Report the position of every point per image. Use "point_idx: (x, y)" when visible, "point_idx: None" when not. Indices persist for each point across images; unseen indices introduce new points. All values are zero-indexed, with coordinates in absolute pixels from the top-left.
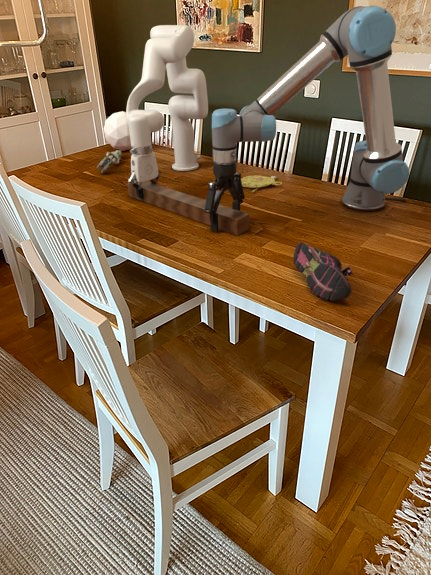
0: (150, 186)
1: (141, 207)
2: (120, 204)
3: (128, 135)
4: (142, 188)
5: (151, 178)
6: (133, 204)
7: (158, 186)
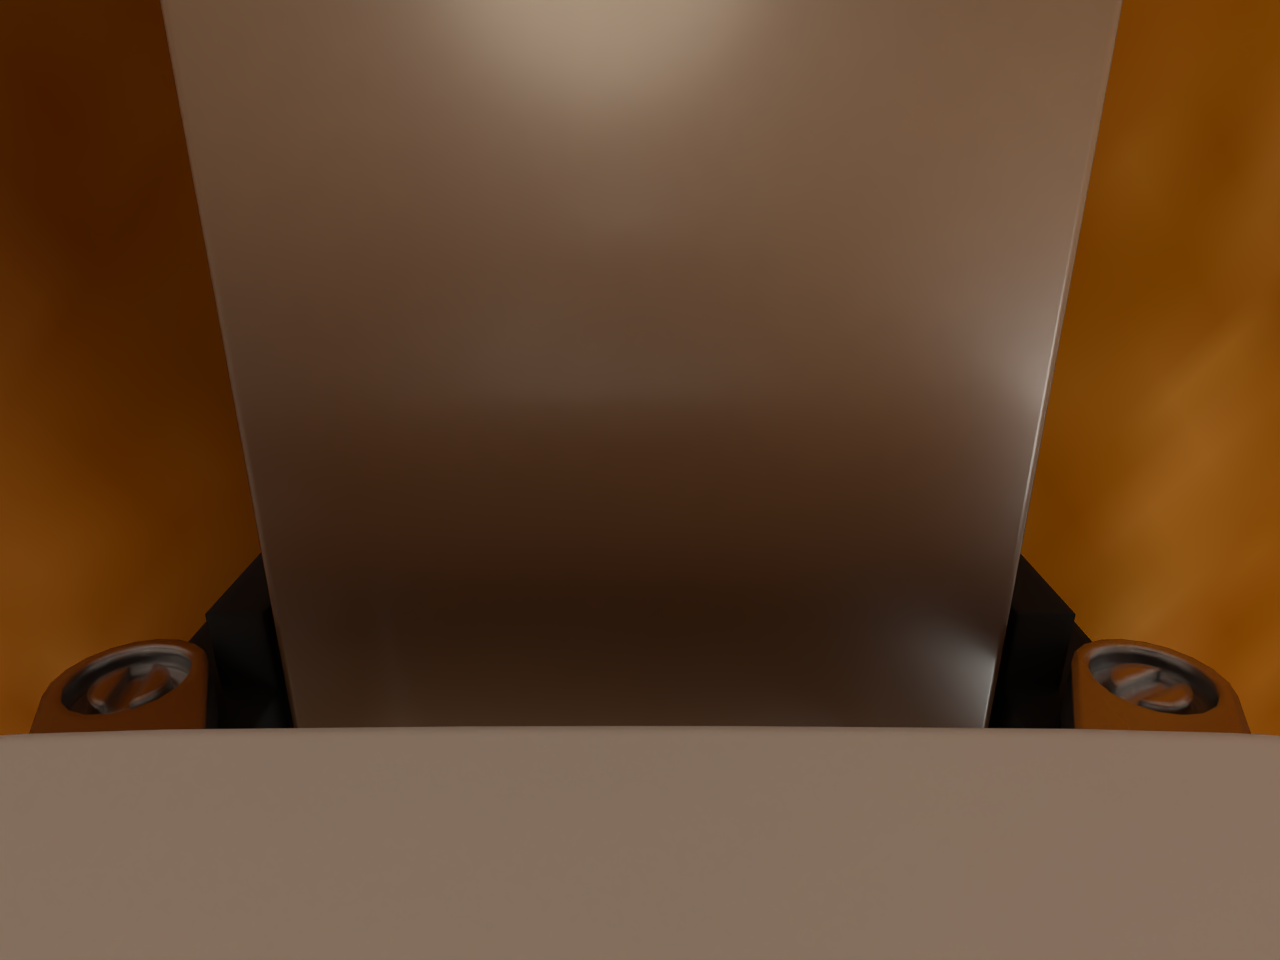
0: (633, 518)
1: (1214, 156)
2: (1272, 718)
3: None
4: (1004, 620)
5: (457, 757)
6: (1134, 499)
7: (355, 186)
